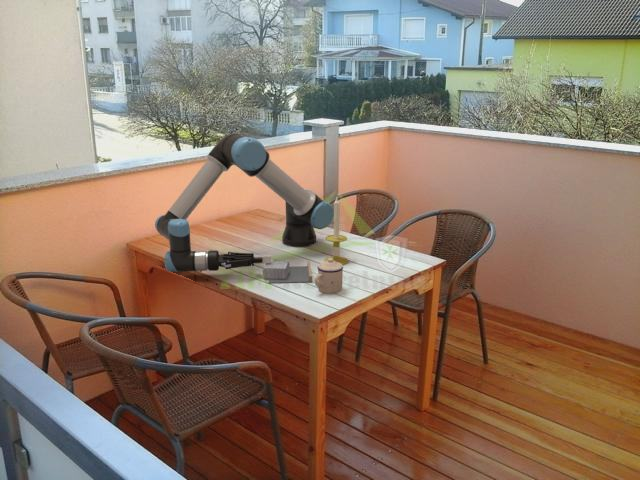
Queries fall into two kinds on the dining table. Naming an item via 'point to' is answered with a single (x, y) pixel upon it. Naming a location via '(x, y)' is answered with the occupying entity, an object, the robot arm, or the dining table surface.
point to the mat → (296, 275)
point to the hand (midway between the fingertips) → (271, 259)
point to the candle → (337, 237)
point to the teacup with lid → (329, 277)
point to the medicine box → (276, 270)
